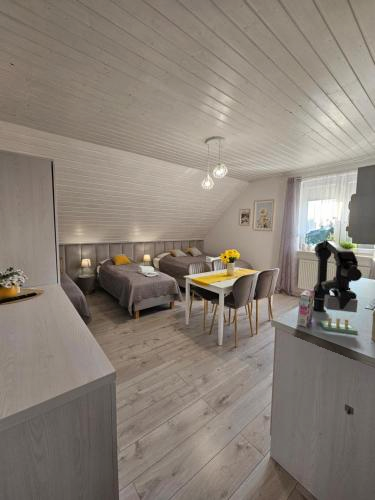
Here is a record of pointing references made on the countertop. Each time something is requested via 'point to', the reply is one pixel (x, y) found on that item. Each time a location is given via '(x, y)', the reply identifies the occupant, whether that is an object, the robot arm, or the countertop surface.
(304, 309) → the candy bar box
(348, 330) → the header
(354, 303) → the grey cinder block
